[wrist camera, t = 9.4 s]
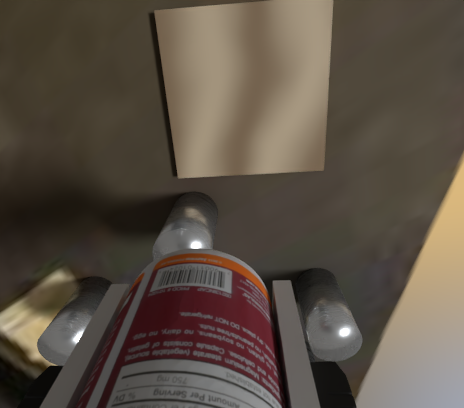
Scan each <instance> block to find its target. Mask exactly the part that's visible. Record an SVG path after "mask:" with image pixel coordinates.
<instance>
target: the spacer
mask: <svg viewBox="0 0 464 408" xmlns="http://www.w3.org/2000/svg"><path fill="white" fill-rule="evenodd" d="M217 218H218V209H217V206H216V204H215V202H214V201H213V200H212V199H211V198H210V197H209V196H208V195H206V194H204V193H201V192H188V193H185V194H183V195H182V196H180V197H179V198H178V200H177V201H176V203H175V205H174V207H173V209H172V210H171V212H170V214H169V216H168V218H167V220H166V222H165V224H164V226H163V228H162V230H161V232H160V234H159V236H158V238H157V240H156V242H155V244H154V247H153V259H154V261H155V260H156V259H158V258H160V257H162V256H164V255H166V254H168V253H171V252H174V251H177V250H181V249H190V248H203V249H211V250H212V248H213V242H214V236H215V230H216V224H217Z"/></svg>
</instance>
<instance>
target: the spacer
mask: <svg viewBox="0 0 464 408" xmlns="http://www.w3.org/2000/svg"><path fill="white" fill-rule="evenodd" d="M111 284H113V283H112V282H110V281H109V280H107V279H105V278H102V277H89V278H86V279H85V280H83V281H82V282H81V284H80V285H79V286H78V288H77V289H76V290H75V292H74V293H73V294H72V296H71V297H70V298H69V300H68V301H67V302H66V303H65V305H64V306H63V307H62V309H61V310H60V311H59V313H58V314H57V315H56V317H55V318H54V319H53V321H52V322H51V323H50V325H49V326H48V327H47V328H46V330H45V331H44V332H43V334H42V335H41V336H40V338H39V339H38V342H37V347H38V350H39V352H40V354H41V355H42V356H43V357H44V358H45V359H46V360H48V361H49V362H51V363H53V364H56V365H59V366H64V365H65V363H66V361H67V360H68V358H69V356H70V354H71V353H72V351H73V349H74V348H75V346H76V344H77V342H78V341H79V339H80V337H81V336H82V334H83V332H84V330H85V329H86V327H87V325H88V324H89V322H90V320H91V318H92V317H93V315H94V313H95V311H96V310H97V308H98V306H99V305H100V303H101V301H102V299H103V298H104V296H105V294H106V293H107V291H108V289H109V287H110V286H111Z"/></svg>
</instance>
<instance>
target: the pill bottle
mask: <svg viewBox="0 0 464 408" xmlns="http://www.w3.org/2000/svg"><path fill="white" fill-rule="evenodd" d="M75 408H286V401H285V394H284V387H283V380H282V373H281V366H280V359H279V352H278V345H277V338H276V331H275V324H274V317H273V310H272V304H271V301H270V297H269V293H268V291H267V288H266V286H265V284H264V283H263V281H262V280H261V278H260V277H259V276H258V274H257V273H256V272H255V271H254V270H253V269H252V268H251V267H249V266H248V265H247V264H246V263H244V262H243V261H241V260H239V259H238V258H236V257H234V256H232V255H229V254H227V253H224V252H220V251H216V250H211V249H203V248H190V249H181V250H177V251H174V252H171V253H168V254H166V255H164V256H162V257H160V258H158V259H156V260H155V261H153V262H152V263H150V264H149V265H148V266H147V267H146V268H145V269H144V270H143V271H142V272H141V273H140V274H139V276H138V277H137V279H136V281H135V282H134V284H133V286H132V288H131V289H130V291H129V293H128V295H127V297H126V300H125V302H124V304H123V306H122V308H121V310H120V312H119V315H118V317H117V319H116V321H115V323H114V325H113V327H112V330H111V332H110V334H109V336H108V338H107V340H106V342H105V345H104V347H103V349H102V351H101V353H100V355H99V358H98V360H97V362H96V364H95V366H94V368H93V371H92V373H91V375H90V377H89V379H88V381H87V383H86V386H85V388H84V390H83V392H82V394H81V396H80V398H79V401H78V403H77V405H76V407H75Z"/></svg>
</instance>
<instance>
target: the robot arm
mask: <svg viewBox="0 0 464 408" xmlns="http://www.w3.org/2000/svg"><path fill="white" fill-rule="evenodd" d="M129 291H130V288H129V284H111V286H110V287H109V289H108V291H107V293H106V294H105V296H104V298H103V299H102V301H101V303H100V305H99V306H98V308H97V310H96V311H95V313H94V315H93V317H92V318H91V320H90V322H89V324H88V325H87V327H86V329H85V330H84V332H83V334H82V336H81V337H80V339H79V341H78V342H77V344H76V346H75V348H74V349H73V351H72V353H71V354H70V356H69V358H68V360H67V361H66V363H65V365H64V366H49V367H48V368H47V369H46V370H45V371H44V372H43V373H42V374H41V375H40V376H39V377H38V378H37V379H35V381H34V382H33V384H32V386H31V387H30V389H29V390H28V392H27V393H26V395H25V398H24V399H22V401H21V403H20V404H19V406H18V407H17V408H75V407H76V405H77V403H78V401H79V398H80V396H81V394H82V392H83V390H84V388H85V386H86V383H87V381H88V379H89V377H90V375H91V373H92V371H93V368H94V366H95V364H96V362H97V360H98V358H99V355H100V353H101V351H102V349H103V347H104V345H105V342H106V340H107V338H108V336H109V334H110V332H111V330H112V327H113V325H114V323H115V321H116V319H117V317H118V315H119V312H120V310H121V308H122V306H123V304H124V302H125V300H126V297H127V295H128V293H129ZM272 310H273V317H274V324H275V331H276V338H277V345H278V352H279V359H280V366H281V373H282V380H283V387H284V394H285V401H286V408H356V404H355V401H354V398H353V396H352V392H351V389H350V386H349V383H348V380H347V377H346V375H345V374H344V373H343V371H342V370H341V369H340V367H339V366H338V365H337V364H336V362H310V361H309V357H308V353H307V348H306V344H305V340H304V336H303V331H302V327H301V323H300V319H299V314H298V310H297V306H296V301H295V297H294V293H293V289H292V284H291V280H278V281H273V290H272Z"/></svg>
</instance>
